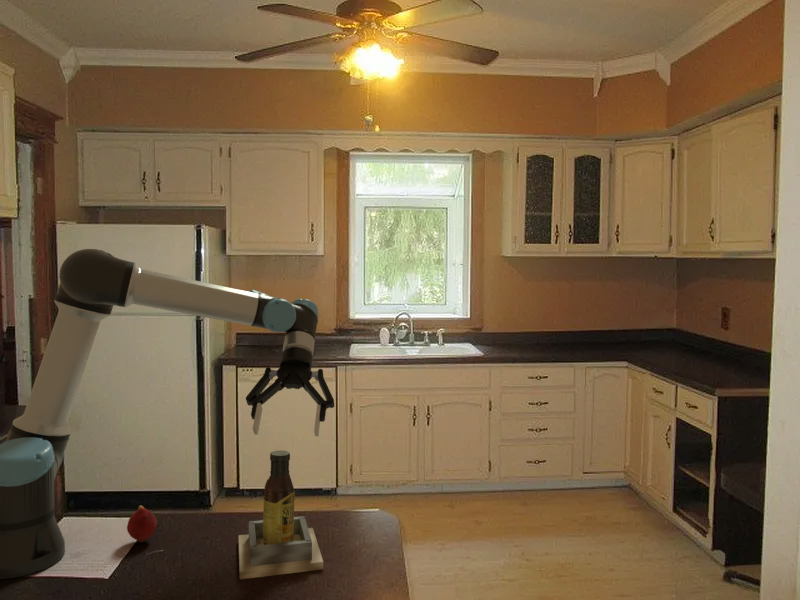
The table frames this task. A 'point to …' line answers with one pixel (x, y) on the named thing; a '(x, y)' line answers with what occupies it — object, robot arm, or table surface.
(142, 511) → the onion
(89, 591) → the table surface
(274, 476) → the sauce bottle
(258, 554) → the bottle holder
